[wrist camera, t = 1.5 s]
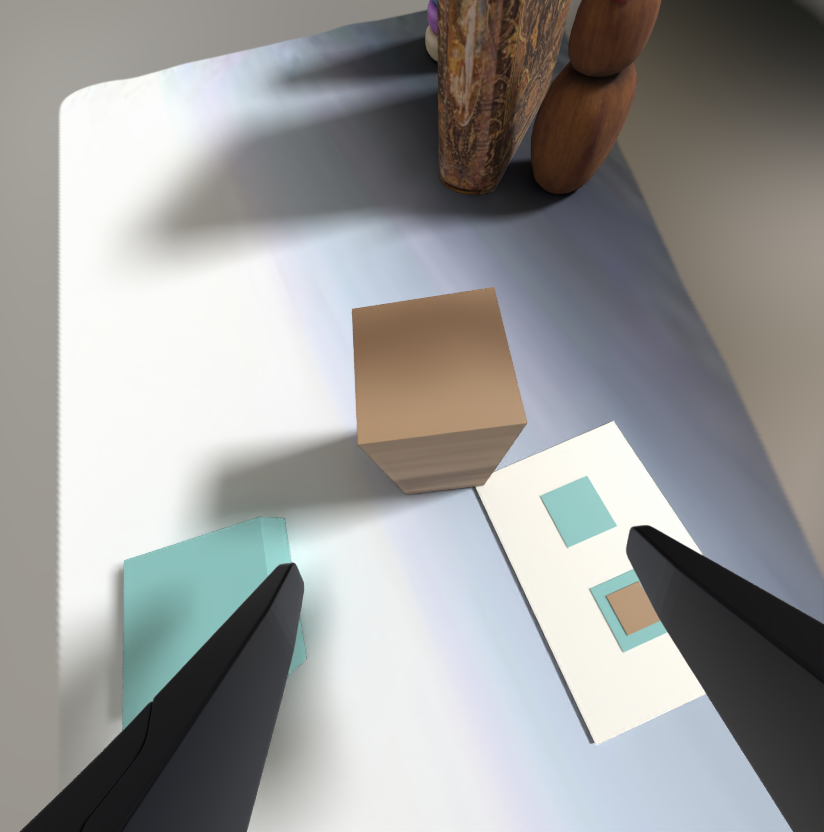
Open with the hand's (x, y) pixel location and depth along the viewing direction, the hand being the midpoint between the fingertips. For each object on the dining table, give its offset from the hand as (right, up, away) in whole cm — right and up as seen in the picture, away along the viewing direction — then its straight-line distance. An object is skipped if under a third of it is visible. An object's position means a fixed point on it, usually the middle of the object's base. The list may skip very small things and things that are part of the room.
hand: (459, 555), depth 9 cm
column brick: (+1, +1, +13) cm, 13 cm away
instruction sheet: (+10, -5, +10) cm, 15 cm away
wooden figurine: (+12, +25, +20) cm, 34 cm away
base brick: (-12, -8, +11) cm, 18 cm away
